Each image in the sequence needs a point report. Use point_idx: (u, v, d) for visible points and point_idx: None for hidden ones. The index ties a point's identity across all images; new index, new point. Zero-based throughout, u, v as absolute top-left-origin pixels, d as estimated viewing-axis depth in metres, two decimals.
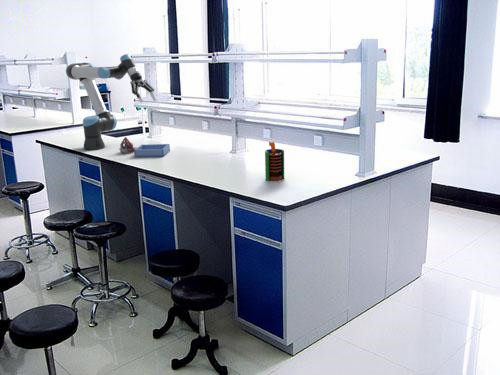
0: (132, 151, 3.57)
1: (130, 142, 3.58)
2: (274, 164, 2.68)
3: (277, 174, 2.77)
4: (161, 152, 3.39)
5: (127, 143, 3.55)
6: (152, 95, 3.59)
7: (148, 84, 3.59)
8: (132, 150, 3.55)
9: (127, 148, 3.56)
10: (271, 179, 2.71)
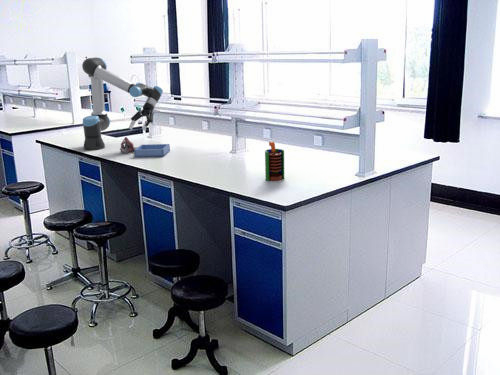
0: (132, 151, 3.57)
1: (130, 142, 3.58)
2: (274, 164, 2.68)
3: (277, 174, 2.77)
4: (161, 152, 3.39)
5: (127, 143, 3.55)
6: (132, 124, 3.67)
7: None
8: (132, 150, 3.55)
9: (127, 148, 3.57)
10: (271, 179, 2.71)
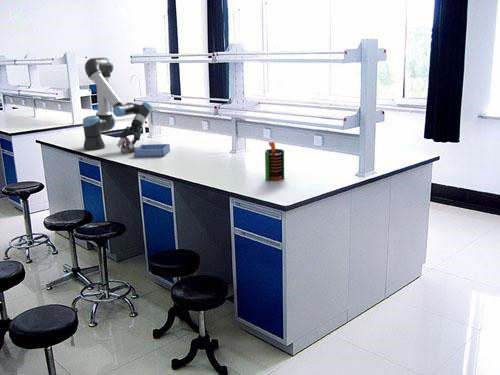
0: (133, 151, 3.57)
1: None
2: (274, 164, 2.68)
3: (277, 174, 2.77)
4: (161, 152, 3.39)
5: (128, 143, 3.56)
6: (121, 141, 3.59)
7: None
8: (133, 150, 3.55)
9: (128, 148, 3.57)
10: (271, 179, 2.71)
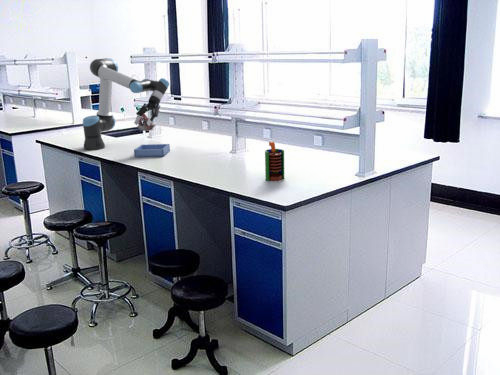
0: (150, 128, 3.46)
1: None
2: (274, 164, 2.68)
3: (277, 174, 2.77)
4: (161, 152, 3.39)
5: (145, 120, 3.44)
6: (138, 119, 3.48)
7: None
8: (150, 127, 3.44)
9: (145, 125, 3.46)
10: (271, 179, 2.71)
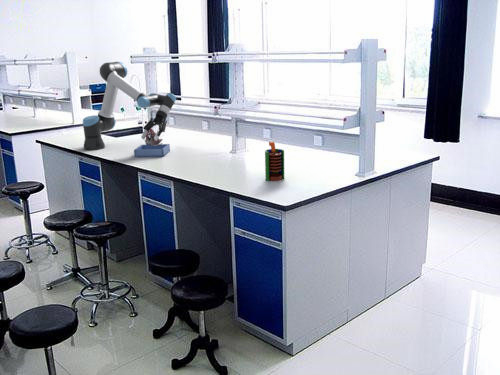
0: (157, 143, 3.47)
1: None
2: (274, 164, 2.68)
3: (277, 174, 2.77)
4: (161, 152, 3.39)
5: (152, 134, 3.45)
6: (145, 133, 3.48)
7: None
8: (157, 142, 3.45)
9: (152, 140, 3.47)
10: (271, 179, 2.71)
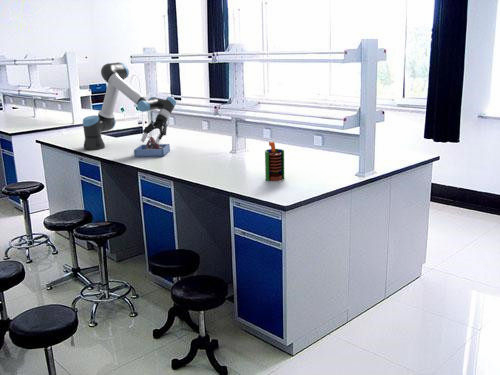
0: None
1: None
2: (274, 164, 2.68)
3: (277, 174, 2.77)
4: (161, 152, 3.39)
5: (153, 143, 3.47)
6: (145, 136, 3.50)
7: None
8: None
9: (153, 148, 3.48)
10: (271, 179, 2.71)
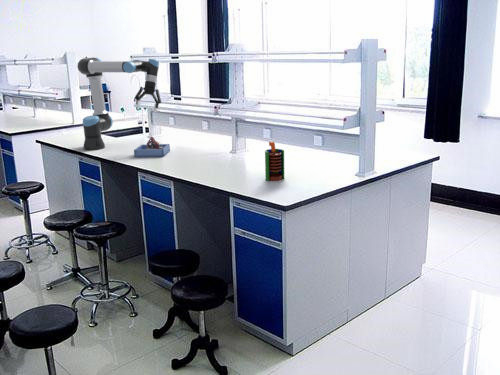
0: None
1: (156, 142, 3.50)
2: (274, 164, 2.68)
3: (277, 174, 2.77)
4: (161, 152, 3.39)
5: (153, 143, 3.47)
6: (138, 104, 3.65)
7: (140, 92, 3.65)
8: None
9: (153, 148, 3.48)
10: (271, 179, 2.71)
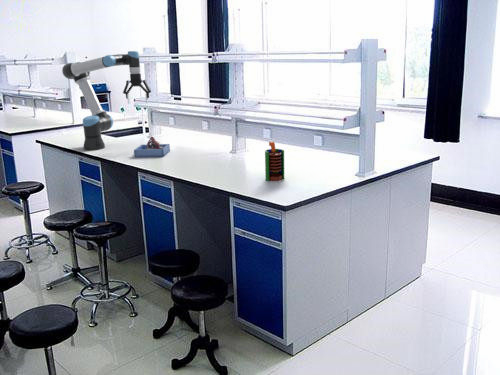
0: None
1: None
2: (274, 164, 2.68)
3: (277, 174, 2.77)
4: (161, 152, 3.39)
5: (154, 142, 3.47)
6: (128, 97, 3.70)
7: (127, 86, 3.69)
8: None
9: (153, 148, 3.49)
10: (271, 179, 2.71)
